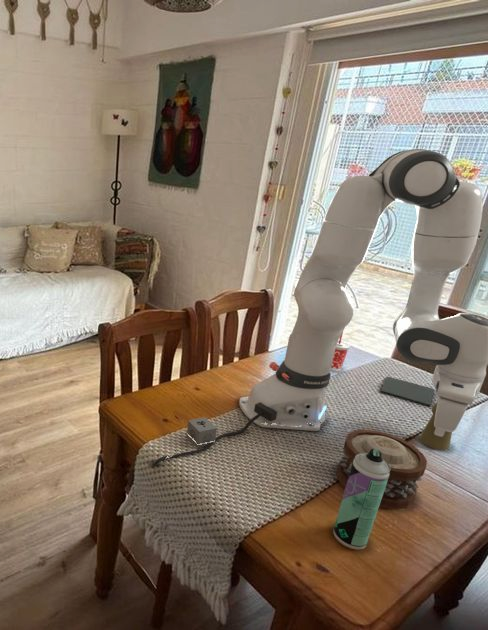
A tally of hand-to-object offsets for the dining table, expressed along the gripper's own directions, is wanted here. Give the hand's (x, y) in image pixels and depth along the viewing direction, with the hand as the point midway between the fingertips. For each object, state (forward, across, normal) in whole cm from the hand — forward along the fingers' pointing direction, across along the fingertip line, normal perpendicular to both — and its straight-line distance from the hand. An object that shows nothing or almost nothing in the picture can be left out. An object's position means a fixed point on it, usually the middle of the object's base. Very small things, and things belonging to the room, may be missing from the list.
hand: (438, 428), depth 110 cm
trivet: (+4, -26, -8) cm, 28 cm away
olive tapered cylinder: (+4, 0, 0) cm, 4 cm away
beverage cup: (+4, -28, -28) cm, 40 cm away
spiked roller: (+4, +28, -9) cm, 29 cm away
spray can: (+4, +47, -11) cm, 49 cm away
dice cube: (+4, +38, -45) cm, 59 cm away
